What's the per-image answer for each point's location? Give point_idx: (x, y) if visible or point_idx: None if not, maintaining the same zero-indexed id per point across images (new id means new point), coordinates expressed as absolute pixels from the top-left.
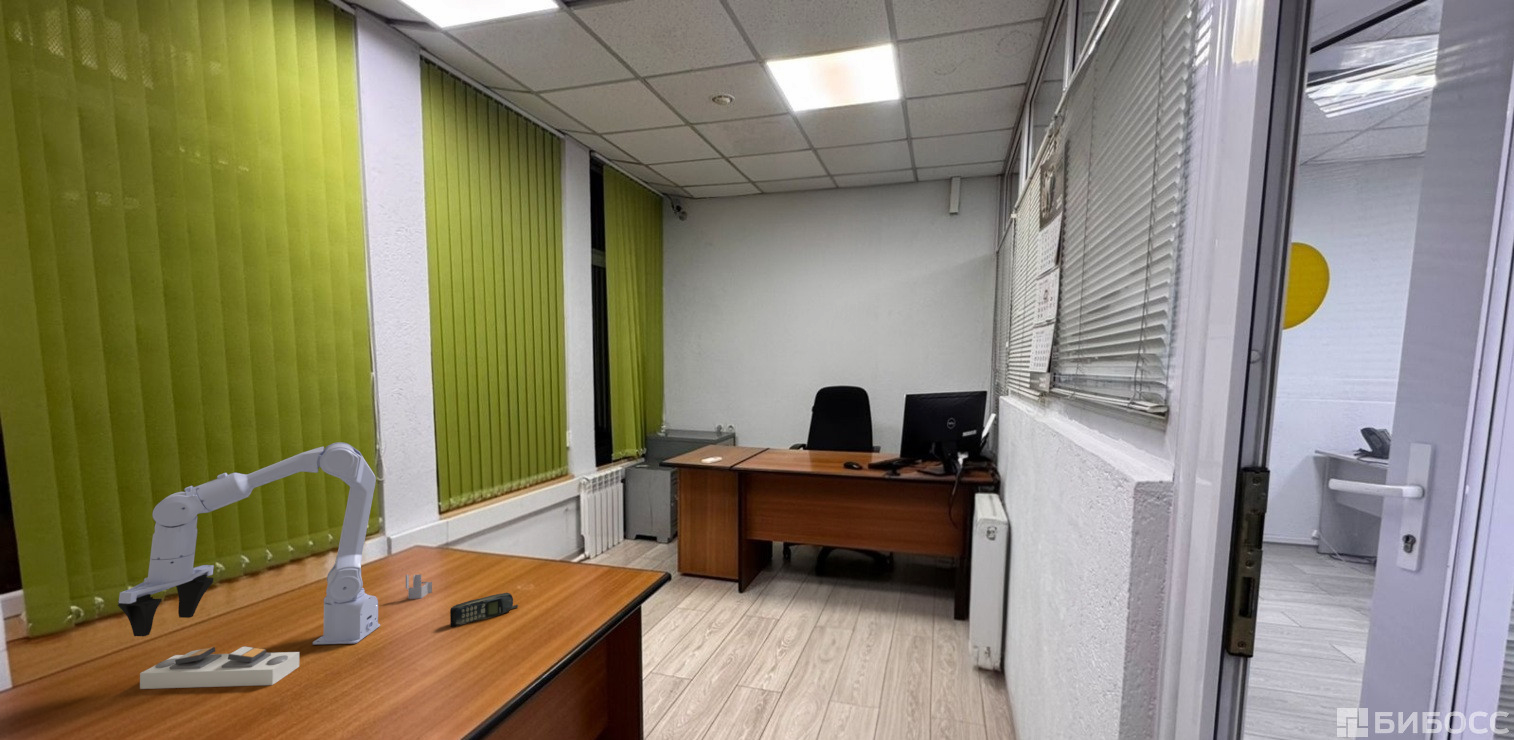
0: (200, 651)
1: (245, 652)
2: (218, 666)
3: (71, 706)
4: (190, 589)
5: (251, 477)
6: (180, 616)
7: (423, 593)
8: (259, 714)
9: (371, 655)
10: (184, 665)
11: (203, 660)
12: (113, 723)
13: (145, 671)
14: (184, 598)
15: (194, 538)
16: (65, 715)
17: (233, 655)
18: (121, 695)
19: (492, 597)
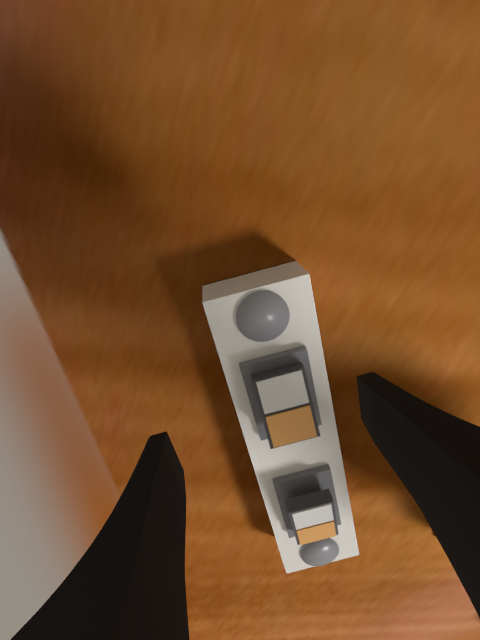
0: (294, 420)
1: (309, 526)
2: (276, 464)
3: (88, 197)
4: (468, 551)
5: None
6: (359, 385)
7: None
8: (202, 596)
9: (394, 591)
10: (254, 399)
11: None
12: (94, 405)
13: (212, 307)
14: (424, 462)
15: None
16: (61, 244)
17: (290, 520)
18: (167, 274)
19: None
